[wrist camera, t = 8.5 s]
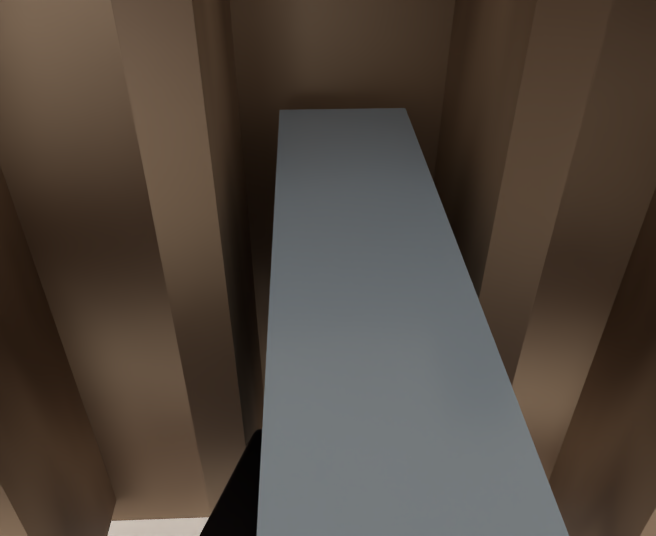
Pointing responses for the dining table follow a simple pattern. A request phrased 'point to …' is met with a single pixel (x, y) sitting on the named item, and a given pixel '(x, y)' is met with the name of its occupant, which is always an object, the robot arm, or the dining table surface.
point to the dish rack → (257, 231)
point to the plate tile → (382, 352)
